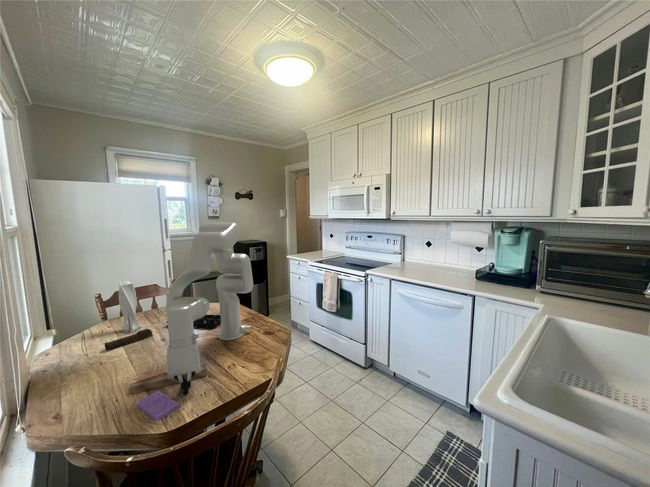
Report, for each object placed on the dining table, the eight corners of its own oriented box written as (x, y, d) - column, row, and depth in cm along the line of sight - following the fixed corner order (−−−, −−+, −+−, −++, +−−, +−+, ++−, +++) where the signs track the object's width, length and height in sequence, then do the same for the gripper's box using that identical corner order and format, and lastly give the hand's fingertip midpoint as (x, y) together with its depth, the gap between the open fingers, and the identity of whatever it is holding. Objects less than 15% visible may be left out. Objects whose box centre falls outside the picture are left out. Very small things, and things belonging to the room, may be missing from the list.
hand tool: (106, 352, 121) (105, 343, 120) (104, 349, 123) (103, 340, 123) (154, 338, 135) (153, 329, 134) (151, 335, 137) (150, 326, 137)
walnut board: (206, 368, 107) (205, 362, 106) (206, 375, 102) (205, 369, 102) (133, 385, 97) (133, 378, 97) (130, 393, 92) (129, 387, 92)
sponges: (157, 422, 80) (156, 417, 80) (136, 407, 86) (135, 402, 86) (179, 407, 86) (179, 402, 86) (158, 394, 92) (158, 389, 92)
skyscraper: (116, 332, 141) (111, 280, 137) (129, 326, 149) (124, 277, 145) (131, 333, 140) (126, 281, 136) (143, 326, 148) (138, 277, 144)
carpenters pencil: (165, 372, 100) (165, 370, 100) (166, 373, 99) (166, 372, 99) (131, 383, 94) (131, 381, 94) (131, 384, 93) (131, 382, 93)
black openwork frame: (176, 319, 158) (175, 313, 158) (227, 317, 161) (227, 311, 160) (160, 332, 141) (159, 326, 140) (218, 329, 143) (218, 323, 143)
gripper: (206, 331, 97) (209, 378, 100) (158, 340, 91) (163, 389, 94) (206, 340, 91) (209, 390, 93) (154, 350, 85) (159, 403, 87)
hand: (186, 390), depth 93 cm, fingers closed
